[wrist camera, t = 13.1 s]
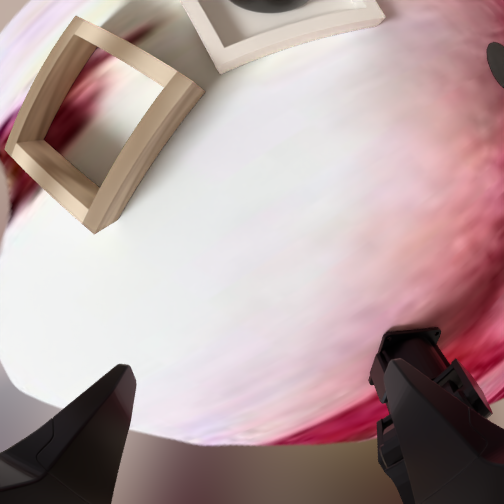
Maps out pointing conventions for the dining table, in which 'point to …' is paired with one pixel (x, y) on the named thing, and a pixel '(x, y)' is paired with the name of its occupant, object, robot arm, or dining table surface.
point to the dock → (273, 27)
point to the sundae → (496, 61)
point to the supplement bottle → (269, 5)
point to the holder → (134, 151)
